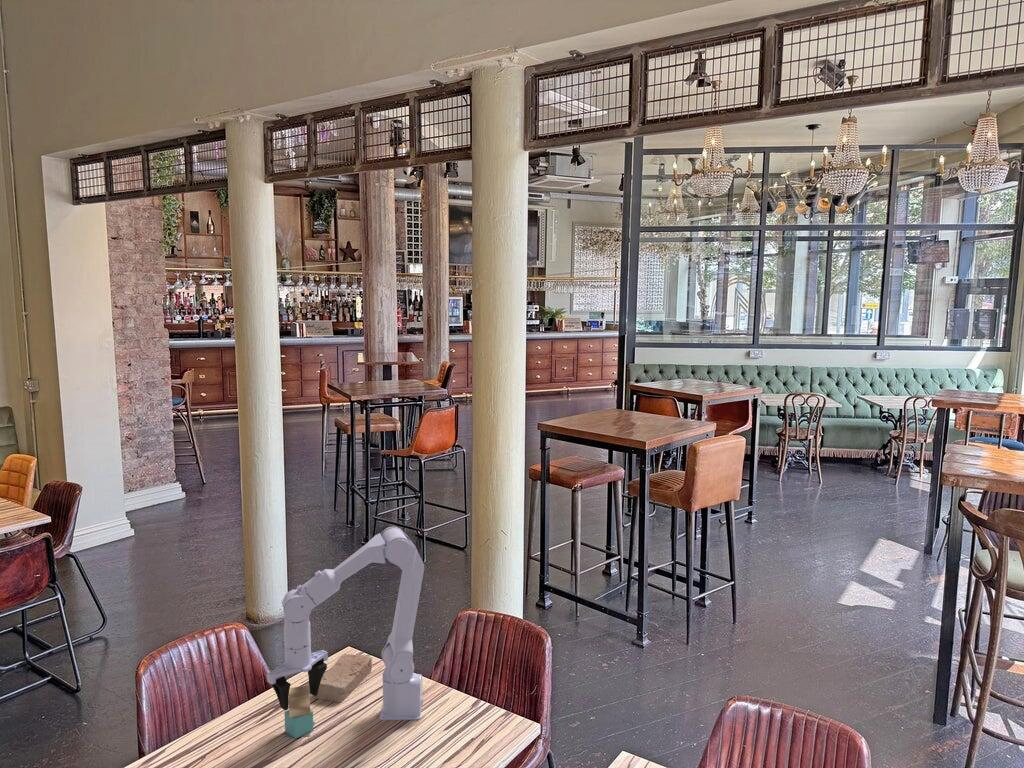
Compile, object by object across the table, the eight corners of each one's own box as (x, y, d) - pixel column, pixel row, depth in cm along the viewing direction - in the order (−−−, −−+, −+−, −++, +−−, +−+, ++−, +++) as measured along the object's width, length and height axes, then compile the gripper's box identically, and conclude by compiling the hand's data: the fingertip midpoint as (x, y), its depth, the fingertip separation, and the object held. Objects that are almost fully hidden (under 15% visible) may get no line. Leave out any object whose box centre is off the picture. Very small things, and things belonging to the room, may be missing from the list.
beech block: (310, 703, 161) (309, 685, 161) (310, 714, 157) (309, 695, 156) (289, 706, 160) (289, 688, 159) (289, 717, 155) (288, 698, 155)
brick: (343, 705, 170) (342, 686, 169) (312, 700, 172) (312, 681, 171) (373, 672, 186) (373, 655, 185) (344, 668, 188) (344, 651, 187)
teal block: (302, 722, 161) (302, 703, 161) (313, 730, 158) (312, 711, 158) (285, 730, 158) (284, 711, 158) (295, 738, 155) (294, 719, 155)
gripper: (278, 661, 149) (280, 721, 150) (335, 637, 160) (336, 694, 161) (260, 651, 153) (262, 710, 154) (317, 629, 164) (318, 683, 166)
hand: (299, 701), depth 158 cm, fingers open, 7 cm apart
